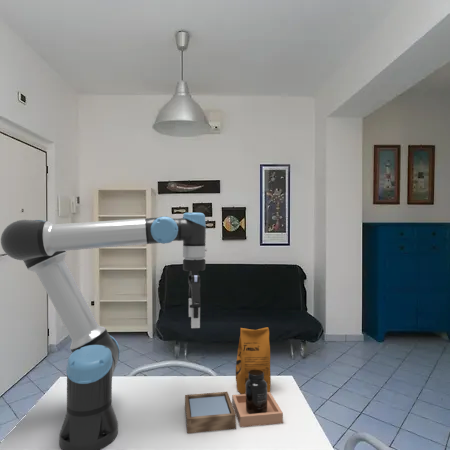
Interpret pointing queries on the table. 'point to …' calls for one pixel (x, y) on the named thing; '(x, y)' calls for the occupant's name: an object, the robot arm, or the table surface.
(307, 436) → the table surface
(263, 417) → the tray
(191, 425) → the wooden frame
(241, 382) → the coffee package
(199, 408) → the pad
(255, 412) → the supplement bottle
